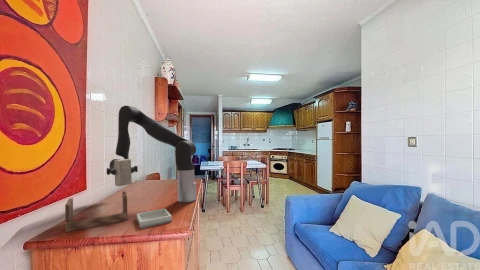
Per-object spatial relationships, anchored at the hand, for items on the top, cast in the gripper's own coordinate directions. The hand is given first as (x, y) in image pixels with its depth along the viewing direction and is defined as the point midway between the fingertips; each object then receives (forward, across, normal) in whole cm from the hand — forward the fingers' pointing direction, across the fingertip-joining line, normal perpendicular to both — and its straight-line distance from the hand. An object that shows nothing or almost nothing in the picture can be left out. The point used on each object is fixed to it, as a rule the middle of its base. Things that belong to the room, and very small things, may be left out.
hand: (123, 171), depth 103 cm
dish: (+18, +10, +20) cm, 28 cm away
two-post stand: (+4, -10, +20) cm, 22 cm away
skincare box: (-2, 0, +7) cm, 7 cm away
